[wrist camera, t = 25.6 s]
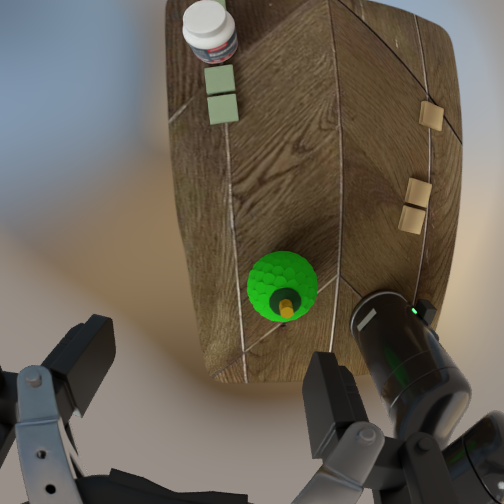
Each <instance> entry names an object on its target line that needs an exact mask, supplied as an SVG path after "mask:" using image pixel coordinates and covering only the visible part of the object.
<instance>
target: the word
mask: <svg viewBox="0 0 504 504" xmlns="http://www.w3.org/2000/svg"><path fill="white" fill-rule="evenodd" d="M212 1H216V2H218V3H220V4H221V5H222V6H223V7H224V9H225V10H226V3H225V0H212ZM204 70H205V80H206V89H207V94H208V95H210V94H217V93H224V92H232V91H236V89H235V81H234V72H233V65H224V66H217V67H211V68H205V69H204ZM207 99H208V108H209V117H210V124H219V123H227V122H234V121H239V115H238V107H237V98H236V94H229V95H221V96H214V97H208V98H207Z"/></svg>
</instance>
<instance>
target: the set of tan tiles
mask: <svg viewBox="0 0 504 504" xmlns="http://www.w3.org/2000/svg"><path fill="white" fill-rule="evenodd" d="M443 112H444V109H443V108H441V107H439V106H436V105H434V104H432V103H430V102H427V101H422V103H421V111H420V119H419V124H422V125H424V126H427V127H429V128H432V129H434V130H437V131H441V129H442V121H443ZM431 187H432V184H429V183H426V182H423V181H420V180H417V179H414V178H409V183H408V188H407V192H406V197H405V202H408V203H411V204H415V205H418V206H422V207H426V208H427V205H428V201H429V196H430V192H431ZM425 213H426V212H425V211H424V210H421V209H417V208H413V207H410V206H406V205H404V206H403V210H402V214H401V218H400V222H399V226H398V229H400V230H402V231H407V232H411V233H416V234H420V232H421V228H422V224H423V221H424V217H425Z"/></svg>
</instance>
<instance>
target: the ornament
mask: <svg viewBox="0 0 504 504" xmlns="http://www.w3.org/2000/svg"><path fill="white" fill-rule="evenodd" d="M247 285H248V288H247V293H248V295H249V300H250V302H251V303H252V304H253V307H254V309H255V310H256V311H258V312H259V313H260V314H261V315H262V316H264V317H266V318H268V319H269V320H271V321H279V322H287V321H290V320H295V319H298V318H299V317H300V316H302V315H304V314H305V313H307V312H308V310H309V309H310V307H312V305H313V304H314V302H315V298H316V296H317V288H318V281H317V276H316V273H315V272H314V270H313V268H312V266H311V265H310V264H309V263H308V261H307V260H306V259H305V258H303V257H301V256H300V255H298V254H296V253H293V252H290V251H277V252H273V253H269V254H267V255H266V256H264V257H262V258H261V259H260V260H259V261H258V262H256V263H255V264H254V266H253V270H250V273H249V279H248V281H247Z"/></svg>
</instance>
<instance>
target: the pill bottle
mask: <svg viewBox="0 0 504 504" xmlns="http://www.w3.org/2000/svg"><path fill="white" fill-rule="evenodd" d="M183 22H184V25H183V35H184V38H185V39H186V41H187V43H188V44H189V46H190V47H191V49H192V50H193V52H194V53H195V55H196V56H197V57H198V58H199V59H200V60H202V61H204V62H207V63H220V62H223V61H225V60H227V59H229V58H230V57H231V56H232V55H233V54H234V53H235V51H236V49H237V45H238V41H237V35H236V29H235V23H234V20H233V18H232V16H231V15H230V14H229V13H228V12H227V11H226V10H225V9H224V7H223V6H222V5H221V4H220V3H218V2H216V1H212V0H203V1H199V2H196V3H194V4H192V5H191V6H190V7H189V8H188V9H187V10H186V11H185V13H184V16H183Z"/></svg>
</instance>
